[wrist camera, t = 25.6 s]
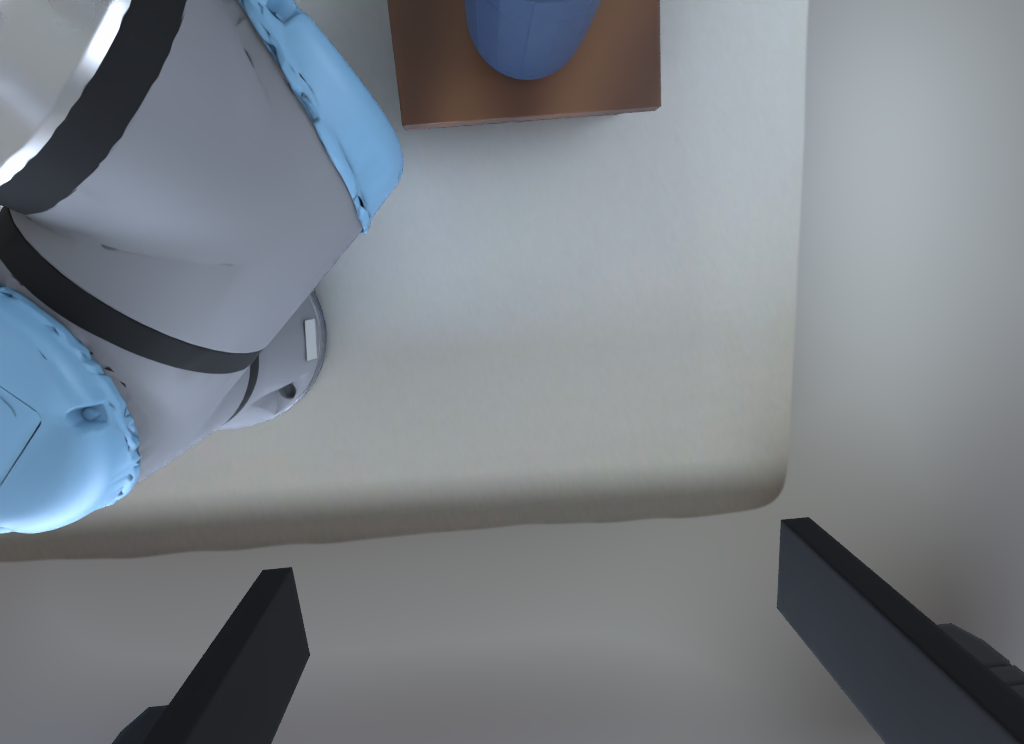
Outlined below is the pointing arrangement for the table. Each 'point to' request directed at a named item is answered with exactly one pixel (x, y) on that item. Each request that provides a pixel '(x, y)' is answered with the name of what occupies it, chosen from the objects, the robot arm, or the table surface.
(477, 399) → the table surface
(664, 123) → the table surface
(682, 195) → the table surface
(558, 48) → the jar
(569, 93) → the overhanging wooden cap box
